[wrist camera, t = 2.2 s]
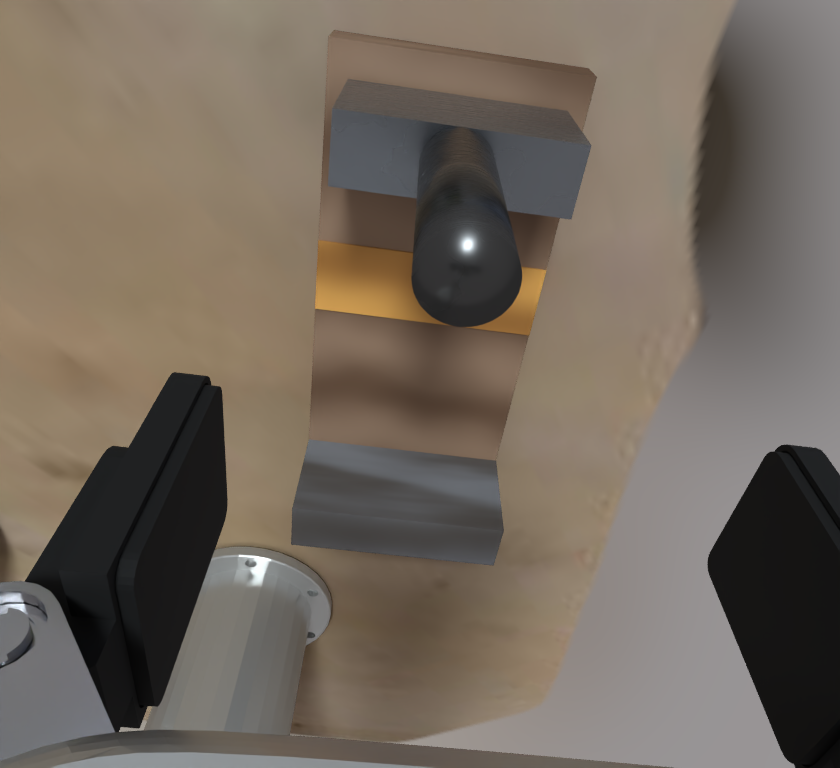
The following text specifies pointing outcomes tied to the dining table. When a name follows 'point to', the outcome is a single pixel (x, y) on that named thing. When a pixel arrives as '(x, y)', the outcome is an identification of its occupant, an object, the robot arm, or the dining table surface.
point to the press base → (414, 338)
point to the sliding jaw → (458, 183)
